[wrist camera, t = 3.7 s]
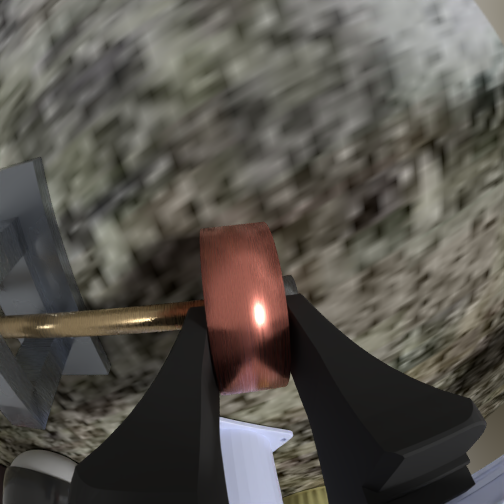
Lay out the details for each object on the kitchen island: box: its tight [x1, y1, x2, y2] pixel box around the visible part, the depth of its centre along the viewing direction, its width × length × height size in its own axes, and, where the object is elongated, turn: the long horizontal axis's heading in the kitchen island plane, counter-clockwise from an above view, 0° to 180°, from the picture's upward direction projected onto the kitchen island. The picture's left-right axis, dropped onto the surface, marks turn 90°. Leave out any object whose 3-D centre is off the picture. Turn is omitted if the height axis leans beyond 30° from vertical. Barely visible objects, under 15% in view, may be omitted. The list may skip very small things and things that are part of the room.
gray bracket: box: [0, 157, 111, 430], centre depth 11 cm, size 5×12×6 cm, turn 3°
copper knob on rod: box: [0, 222, 298, 395], centre depth 11 cm, size 17×6×6 cm, turn 93°
